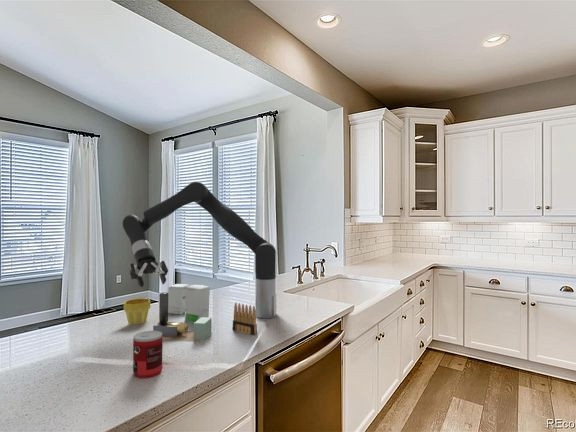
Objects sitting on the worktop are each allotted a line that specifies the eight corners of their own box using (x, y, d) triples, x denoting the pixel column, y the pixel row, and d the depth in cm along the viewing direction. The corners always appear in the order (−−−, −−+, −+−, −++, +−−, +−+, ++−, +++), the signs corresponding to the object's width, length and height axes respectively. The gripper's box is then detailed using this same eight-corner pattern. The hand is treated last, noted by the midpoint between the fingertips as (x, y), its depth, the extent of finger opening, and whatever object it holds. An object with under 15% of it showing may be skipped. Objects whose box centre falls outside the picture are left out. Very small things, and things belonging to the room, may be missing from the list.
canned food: (138, 366, 102) (138, 330, 102) (165, 366, 103) (165, 330, 103) (128, 379, 94) (128, 339, 94) (158, 378, 95) (158, 339, 95)
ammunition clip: (257, 337, 128) (257, 305, 128) (254, 338, 126) (254, 306, 126) (235, 332, 133) (235, 301, 133) (232, 333, 132) (232, 302, 132)
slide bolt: (188, 331, 127) (188, 293, 127) (184, 334, 124) (184, 295, 124) (160, 330, 129) (160, 292, 128) (156, 333, 125) (156, 294, 125)
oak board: (212, 335, 129) (212, 332, 129) (202, 345, 119) (202, 341, 119) (163, 332, 132) (163, 329, 132) (149, 342, 122) (149, 338, 122)
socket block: (211, 333, 128) (211, 317, 128) (204, 340, 121) (204, 323, 121) (201, 332, 128) (201, 317, 128) (193, 339, 121) (193, 323, 121)
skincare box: (184, 323, 144) (184, 286, 144) (194, 319, 149) (195, 283, 149) (199, 326, 140) (200, 288, 140) (210, 321, 146) (210, 285, 146)
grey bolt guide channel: (182, 332, 128) (182, 322, 128) (176, 337, 123) (176, 326, 123) (160, 331, 130) (160, 321, 130) (153, 336, 124) (153, 325, 124)
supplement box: (182, 314, 156) (182, 287, 156) (167, 313, 158) (167, 286, 158) (189, 310, 163) (189, 284, 163) (175, 309, 165) (176, 283, 165)
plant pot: (117, 325, 140) (118, 302, 140) (139, 319, 149) (139, 296, 149) (134, 329, 135) (134, 305, 135) (155, 322, 144) (155, 299, 144)
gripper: (127, 248, 136) (137, 280, 127) (162, 246, 146) (173, 276, 137) (123, 260, 140) (132, 292, 131) (157, 257, 149) (168, 287, 141)
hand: (153, 284), depth 134 cm, fingers open, 8 cm apart
